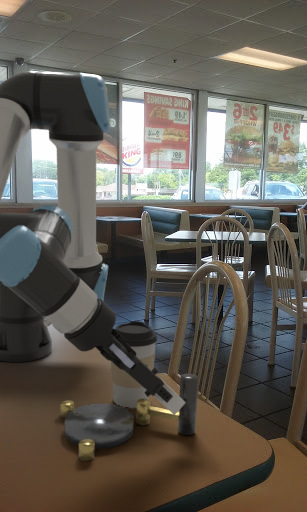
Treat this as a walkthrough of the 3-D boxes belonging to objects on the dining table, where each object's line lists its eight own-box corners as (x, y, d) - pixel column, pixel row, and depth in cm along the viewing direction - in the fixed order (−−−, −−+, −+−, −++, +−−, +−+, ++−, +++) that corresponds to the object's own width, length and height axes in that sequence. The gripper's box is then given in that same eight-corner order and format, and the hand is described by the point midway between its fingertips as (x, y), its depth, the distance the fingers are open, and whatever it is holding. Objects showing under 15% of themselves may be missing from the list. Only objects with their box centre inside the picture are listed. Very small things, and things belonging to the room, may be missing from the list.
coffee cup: (148, 413, 87) (152, 335, 84) (101, 407, 88) (103, 330, 86) (158, 393, 95) (161, 321, 93) (115, 387, 97) (117, 317, 95)
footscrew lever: (133, 424, 82) (135, 370, 81) (139, 416, 85) (141, 364, 84) (192, 437, 79) (195, 382, 77) (197, 429, 81) (200, 375, 80)
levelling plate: (55, 413, 85) (56, 401, 85) (116, 404, 90) (117, 393, 89) (76, 463, 71) (77, 449, 70) (148, 449, 75) (149, 436, 75)
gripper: (53, 321, 74) (147, 405, 83) (72, 350, 62) (180, 445, 71) (87, 286, 75) (176, 373, 84) (112, 309, 63) (213, 407, 72)
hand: (177, 406), depth 77 cm, fingers closed
